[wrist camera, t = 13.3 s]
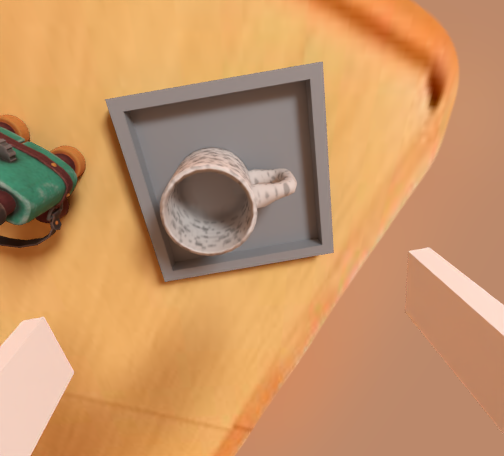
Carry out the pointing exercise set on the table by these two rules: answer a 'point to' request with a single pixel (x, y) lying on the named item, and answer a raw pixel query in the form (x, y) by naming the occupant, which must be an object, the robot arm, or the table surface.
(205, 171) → the mug
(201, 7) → the table surface
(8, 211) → the binoculars
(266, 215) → the tray
